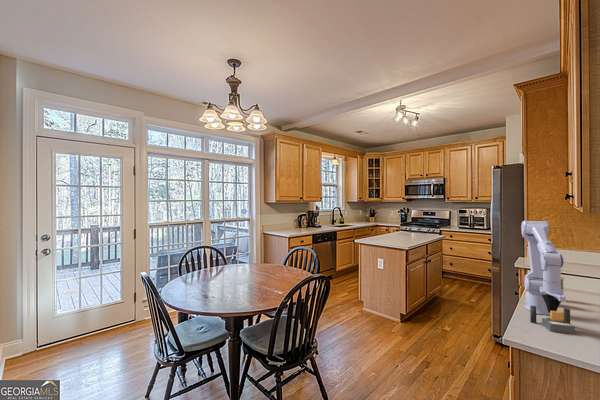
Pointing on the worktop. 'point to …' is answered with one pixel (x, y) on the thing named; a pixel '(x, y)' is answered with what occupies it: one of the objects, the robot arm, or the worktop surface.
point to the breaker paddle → (556, 315)
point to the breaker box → (558, 326)
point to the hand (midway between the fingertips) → (552, 312)
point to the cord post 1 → (533, 314)
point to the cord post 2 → (567, 315)
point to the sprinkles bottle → (562, 284)
